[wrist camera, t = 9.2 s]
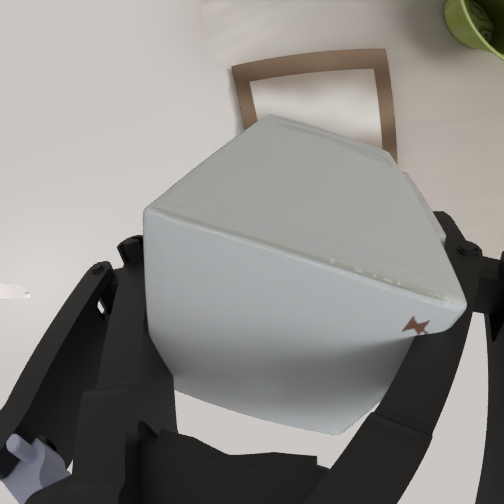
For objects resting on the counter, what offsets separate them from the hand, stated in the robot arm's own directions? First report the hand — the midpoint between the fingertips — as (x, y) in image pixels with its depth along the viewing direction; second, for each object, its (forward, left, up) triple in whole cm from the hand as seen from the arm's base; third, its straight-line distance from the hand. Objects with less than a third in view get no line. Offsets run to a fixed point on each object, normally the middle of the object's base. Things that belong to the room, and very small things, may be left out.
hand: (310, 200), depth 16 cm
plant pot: (-13, +18, -17) cm, 28 cm away
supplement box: (0, 0, -2) cm, 2 cm away
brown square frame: (0, 0, -16) cm, 16 cm away
